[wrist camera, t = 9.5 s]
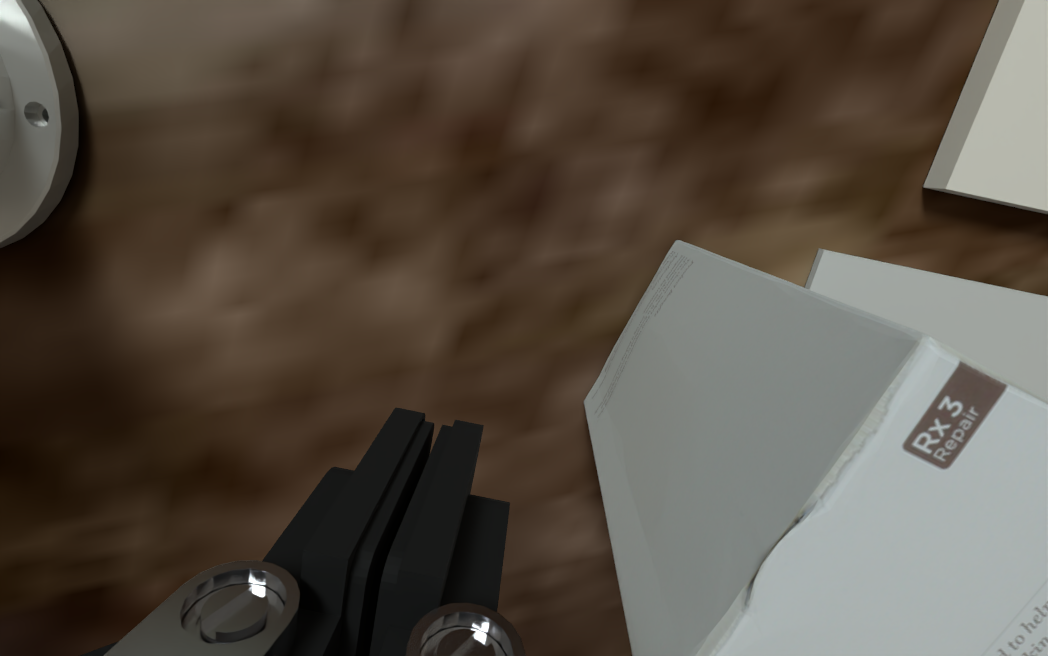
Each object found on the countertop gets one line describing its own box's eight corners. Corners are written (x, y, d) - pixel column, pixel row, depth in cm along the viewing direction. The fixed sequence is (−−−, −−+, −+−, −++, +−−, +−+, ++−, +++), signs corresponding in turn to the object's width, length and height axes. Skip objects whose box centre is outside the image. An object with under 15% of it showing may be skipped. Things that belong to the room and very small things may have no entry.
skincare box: (693, 453, 24) (915, 869, 10) (573, 397, 24) (628, 756, 9) (802, 289, 22) (1293, 524, 8) (673, 222, 21) (949, 342, 7)
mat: (739, 466, 24) (742, 471, 24) (819, 248, 21) (824, 250, 21) (1096, 536, 25) (1105, 542, 25) (1220, 333, 22) (1232, 336, 22)
